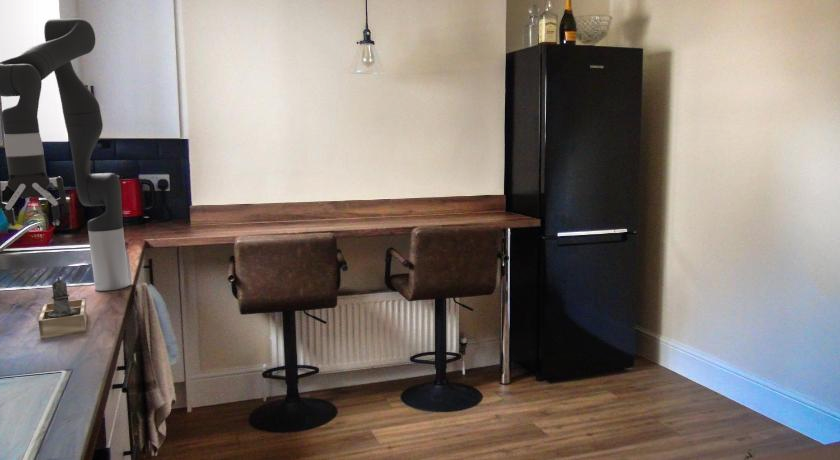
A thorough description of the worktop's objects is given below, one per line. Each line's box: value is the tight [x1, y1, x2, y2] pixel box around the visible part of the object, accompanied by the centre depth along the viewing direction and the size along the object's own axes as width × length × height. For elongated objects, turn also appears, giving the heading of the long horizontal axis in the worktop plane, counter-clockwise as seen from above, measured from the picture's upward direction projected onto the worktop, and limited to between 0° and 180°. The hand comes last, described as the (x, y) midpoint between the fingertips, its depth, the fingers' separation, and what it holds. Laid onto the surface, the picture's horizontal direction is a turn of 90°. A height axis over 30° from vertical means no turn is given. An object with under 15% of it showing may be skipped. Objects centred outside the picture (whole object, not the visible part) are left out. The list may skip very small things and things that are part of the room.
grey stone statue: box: [48, 276, 77, 319], centre depth 156 cm, size 6×6×12 cm
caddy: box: [38, 298, 88, 339], centre depth 160 cm, size 17×9×4 cm, turn 25°
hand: (34, 223), depth 159 cm, fingers open, 8 cm apart
